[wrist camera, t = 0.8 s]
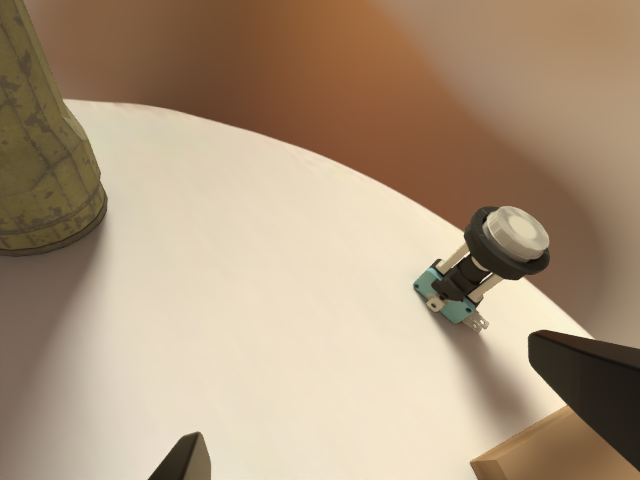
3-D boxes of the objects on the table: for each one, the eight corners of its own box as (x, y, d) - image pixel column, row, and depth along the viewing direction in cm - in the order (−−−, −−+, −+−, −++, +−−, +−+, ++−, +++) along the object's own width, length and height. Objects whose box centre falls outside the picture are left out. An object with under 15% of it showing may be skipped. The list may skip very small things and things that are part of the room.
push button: (487, 315, 28) (590, 250, 20) (461, 355, 25) (571, 296, 17) (428, 263, 30) (501, 186, 22) (397, 293, 27) (470, 216, 19)
